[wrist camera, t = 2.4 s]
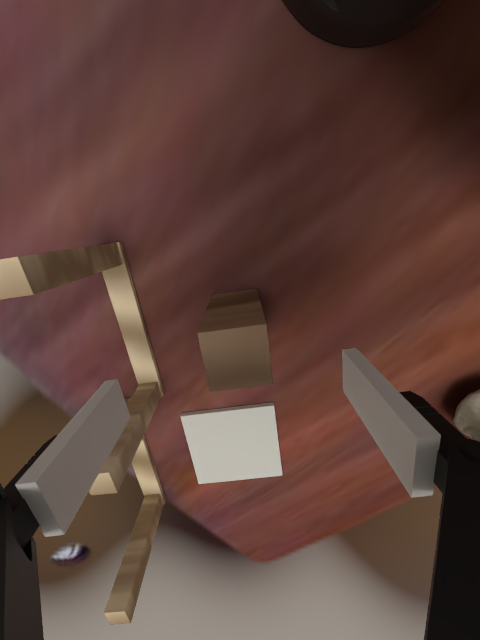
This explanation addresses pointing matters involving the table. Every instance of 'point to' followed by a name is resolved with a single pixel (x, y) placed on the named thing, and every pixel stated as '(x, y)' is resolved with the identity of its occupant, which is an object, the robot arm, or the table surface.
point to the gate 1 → (110, 260)
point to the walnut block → (235, 341)
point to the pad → (233, 443)
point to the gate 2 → (137, 539)
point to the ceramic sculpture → (469, 415)
